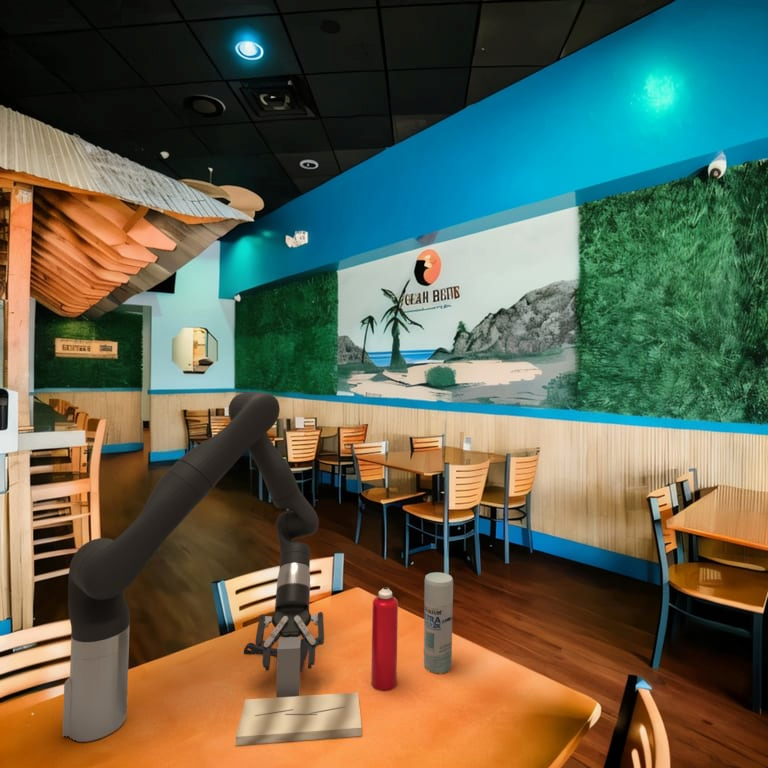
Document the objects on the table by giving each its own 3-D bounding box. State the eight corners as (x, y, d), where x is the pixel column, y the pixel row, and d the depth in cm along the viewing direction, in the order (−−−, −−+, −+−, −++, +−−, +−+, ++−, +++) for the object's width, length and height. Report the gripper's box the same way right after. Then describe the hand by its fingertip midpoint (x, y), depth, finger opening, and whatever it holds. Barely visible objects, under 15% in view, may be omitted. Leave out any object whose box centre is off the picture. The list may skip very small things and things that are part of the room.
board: (235, 745, 81) (235, 736, 81) (245, 707, 91) (245, 699, 91) (361, 736, 84) (361, 727, 84) (357, 699, 94) (357, 692, 94)
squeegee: (252, 639, 117) (253, 628, 117) (311, 640, 117) (312, 629, 117) (234, 674, 103) (234, 661, 103) (301, 675, 103) (301, 662, 103)
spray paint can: (417, 664, 107) (418, 576, 107) (437, 654, 111) (438, 569, 111) (438, 678, 102) (439, 585, 102) (457, 667, 106) (459, 578, 106)
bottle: (389, 694, 96) (390, 595, 96) (366, 685, 98) (368, 590, 99) (401, 680, 101) (402, 586, 101) (379, 672, 103) (380, 581, 104)
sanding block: (275, 700, 93) (277, 649, 94) (278, 685, 98) (279, 637, 98) (299, 698, 94) (300, 648, 94) (300, 684, 99) (301, 636, 99)
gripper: (260, 582, 103) (251, 665, 91) (324, 580, 105) (324, 660, 93) (262, 596, 108) (254, 676, 97) (324, 594, 110) (323, 672, 98)
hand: (288, 668), depth 95 cm, fingers open, 8 cm apart
